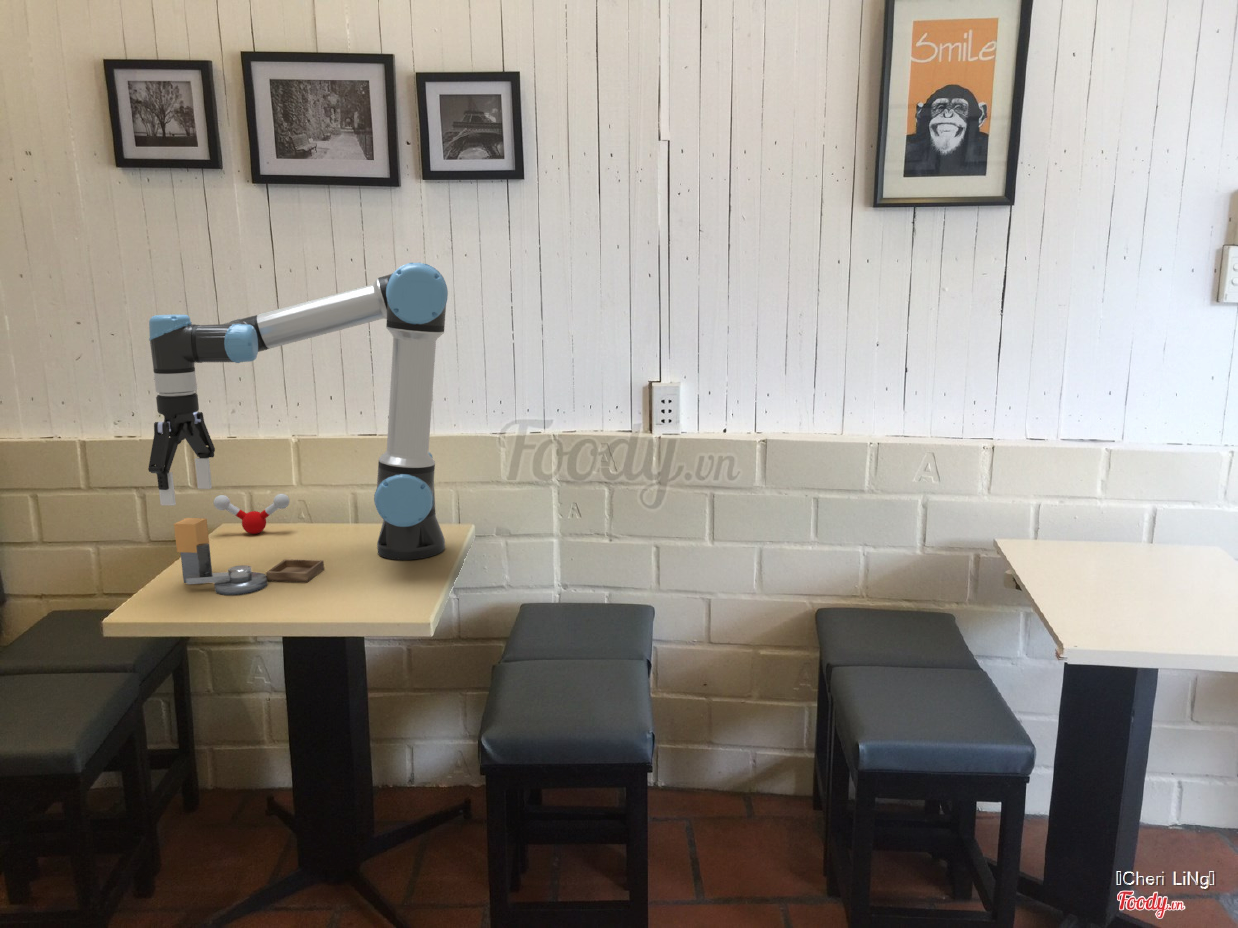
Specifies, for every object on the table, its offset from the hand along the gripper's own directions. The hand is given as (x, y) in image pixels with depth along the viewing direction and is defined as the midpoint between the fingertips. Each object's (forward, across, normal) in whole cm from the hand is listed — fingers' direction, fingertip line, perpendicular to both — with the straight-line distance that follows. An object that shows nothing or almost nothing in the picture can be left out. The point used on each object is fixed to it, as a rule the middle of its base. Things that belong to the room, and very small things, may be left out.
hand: (187, 496), depth 191 cm
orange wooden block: (+11, 0, 0) cm, 11 cm away
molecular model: (+18, -35, -4) cm, 40 cm away
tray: (+18, -6, +19) cm, 27 cm away
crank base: (+18, +2, +11) cm, 21 cm away
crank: (+17, +4, +8) cm, 19 cm away
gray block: (+18, 0, 0) cm, 18 cm away
